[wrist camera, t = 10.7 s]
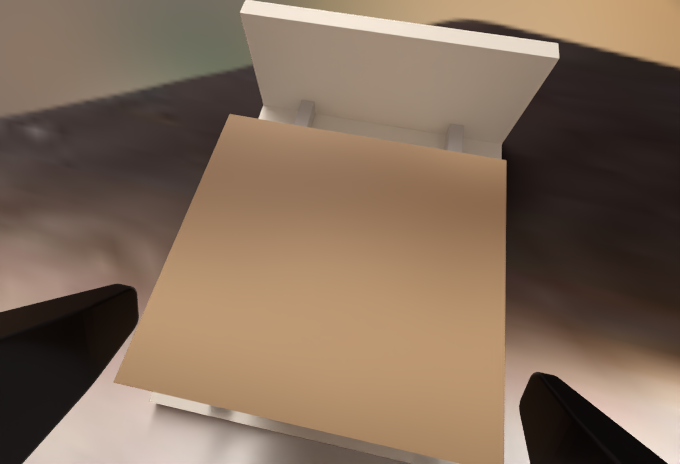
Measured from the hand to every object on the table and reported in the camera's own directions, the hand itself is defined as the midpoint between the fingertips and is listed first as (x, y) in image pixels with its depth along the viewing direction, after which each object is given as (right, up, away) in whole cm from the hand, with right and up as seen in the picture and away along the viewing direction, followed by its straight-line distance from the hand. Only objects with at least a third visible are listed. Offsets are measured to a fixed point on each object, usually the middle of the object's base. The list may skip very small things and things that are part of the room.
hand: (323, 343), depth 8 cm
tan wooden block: (0, -2, +9) cm, 9 cm away
